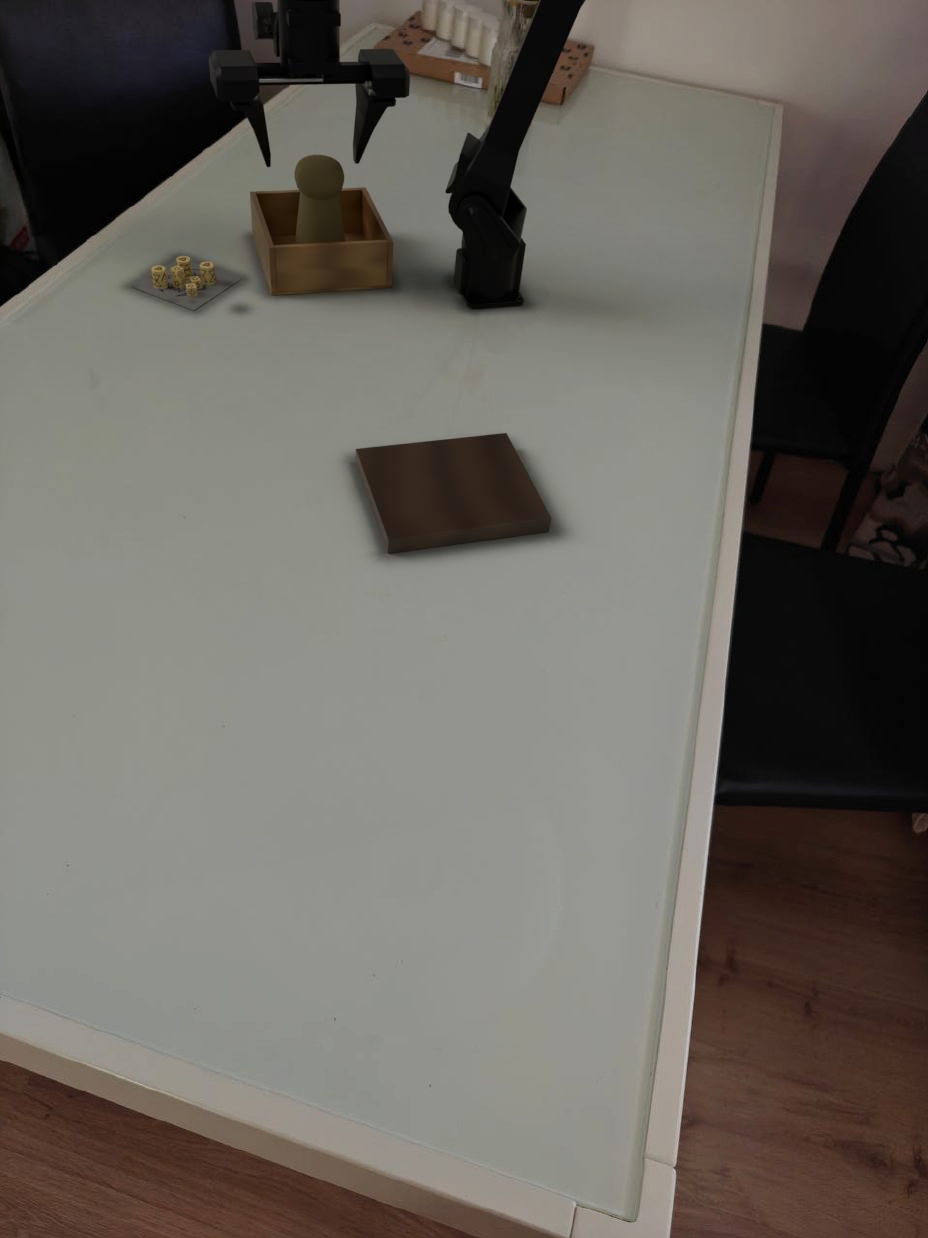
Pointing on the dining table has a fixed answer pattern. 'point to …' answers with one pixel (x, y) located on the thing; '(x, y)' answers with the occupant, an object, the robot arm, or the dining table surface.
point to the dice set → (186, 282)
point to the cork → (319, 200)
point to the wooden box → (321, 246)
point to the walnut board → (450, 492)
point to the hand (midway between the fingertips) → (312, 163)
